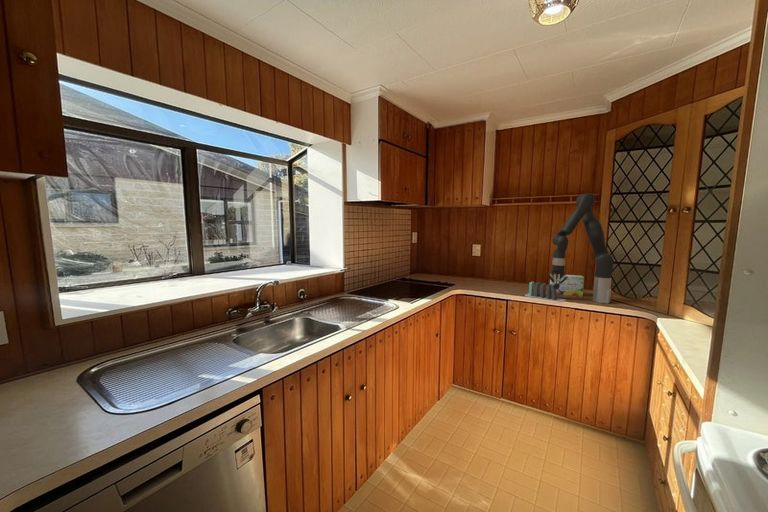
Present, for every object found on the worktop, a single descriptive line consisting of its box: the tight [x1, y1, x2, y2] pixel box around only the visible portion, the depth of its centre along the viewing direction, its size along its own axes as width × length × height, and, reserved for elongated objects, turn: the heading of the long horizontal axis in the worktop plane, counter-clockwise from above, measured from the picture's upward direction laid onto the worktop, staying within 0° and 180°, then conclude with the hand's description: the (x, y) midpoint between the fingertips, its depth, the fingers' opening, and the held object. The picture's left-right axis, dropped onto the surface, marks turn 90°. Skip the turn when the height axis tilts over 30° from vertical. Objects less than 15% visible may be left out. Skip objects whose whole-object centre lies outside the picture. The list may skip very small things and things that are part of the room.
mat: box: [524, 292, 567, 303], centre depth 219 cm, size 26×10×1 cm, turn 44°
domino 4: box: [545, 283, 552, 299], centre depth 216 cm, size 2×5×10 cm, turn 134°
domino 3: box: [539, 282, 547, 298], centre depth 219 cm, size 2×5×10 cm, turn 134°
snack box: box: [549, 274, 585, 297], centre depth 227 cm, size 21×6×15 cm, turn 73°
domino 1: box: [528, 281, 535, 296], centre depth 225 cm, size 2×5×10 cm, turn 134°
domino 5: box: [551, 285, 558, 300], centre depth 214 cm, size 2×5×10 cm, turn 134°
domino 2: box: [534, 282, 541, 297], centre depth 222 cm, size 2×5×10 cm, turn 134°
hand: (556, 288), depth 212 cm, fingers closed
